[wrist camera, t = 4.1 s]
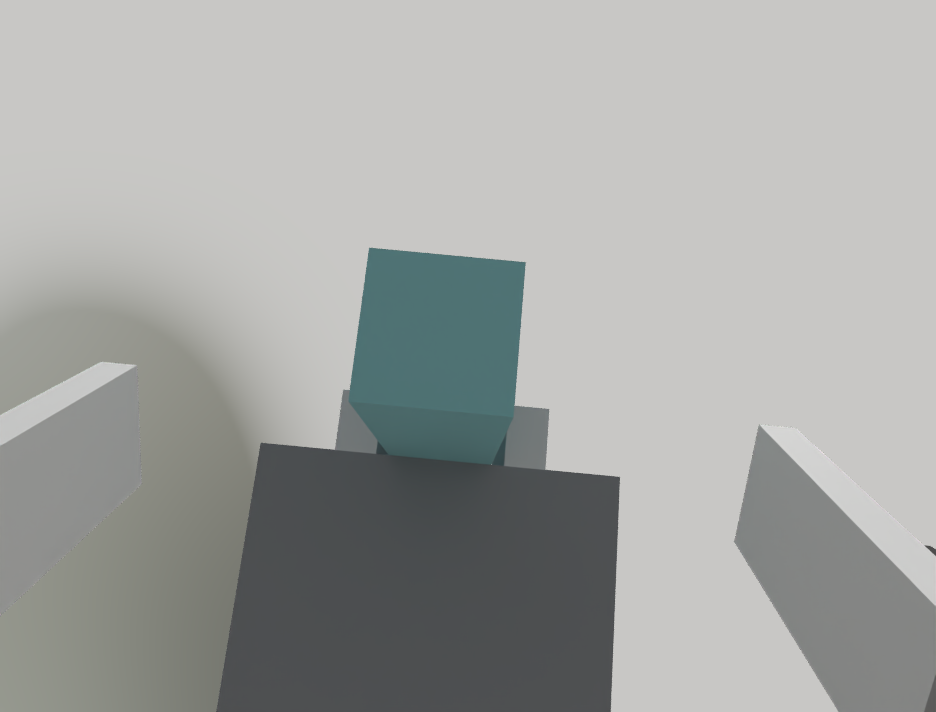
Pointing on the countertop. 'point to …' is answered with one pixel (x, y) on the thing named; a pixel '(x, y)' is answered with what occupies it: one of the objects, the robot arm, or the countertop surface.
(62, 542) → the robot arm
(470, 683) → the block
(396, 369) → the teal rectangular bar
